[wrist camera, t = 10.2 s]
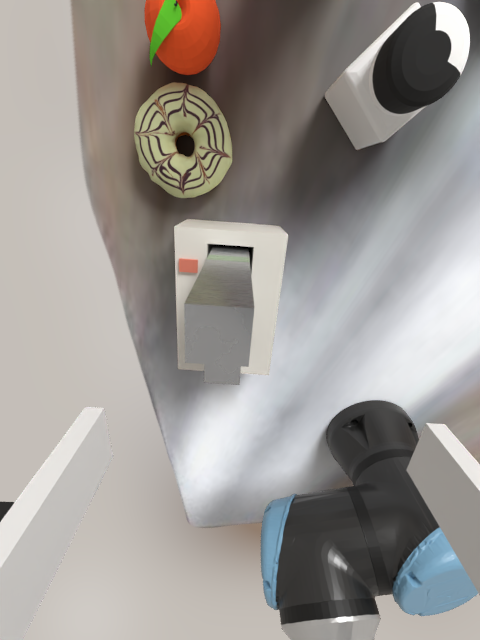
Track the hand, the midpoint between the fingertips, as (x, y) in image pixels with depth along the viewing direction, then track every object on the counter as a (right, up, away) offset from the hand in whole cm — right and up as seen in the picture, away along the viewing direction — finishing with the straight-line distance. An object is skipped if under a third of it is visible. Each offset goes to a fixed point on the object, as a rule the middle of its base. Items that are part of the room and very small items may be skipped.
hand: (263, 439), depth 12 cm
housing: (-2, +10, +29) cm, 31 cm away
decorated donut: (-7, +26, +22) cm, 35 cm away
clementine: (-7, +34, +18) cm, 39 cm away
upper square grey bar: (-2, +12, +21) cm, 24 cm away
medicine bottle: (+13, +30, +20) cm, 38 cm away
